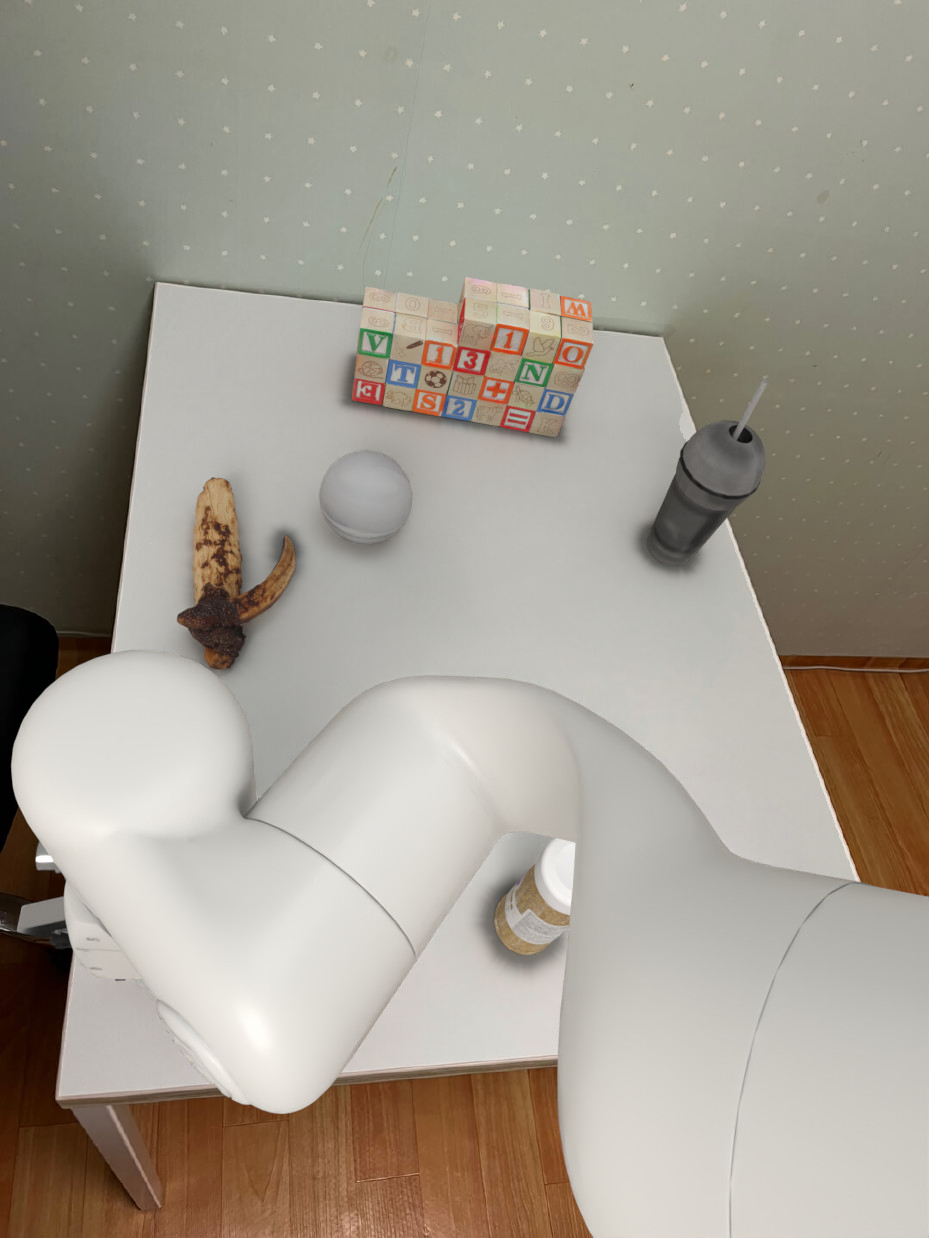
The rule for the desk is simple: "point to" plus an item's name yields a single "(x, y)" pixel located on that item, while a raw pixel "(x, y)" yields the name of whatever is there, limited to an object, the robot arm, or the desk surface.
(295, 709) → the desk surface
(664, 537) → the beverage cup
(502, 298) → the stack of blocks
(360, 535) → the bath bomb
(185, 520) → the desk surface
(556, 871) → the sprinkles bottle
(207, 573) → the lashed bone hook
